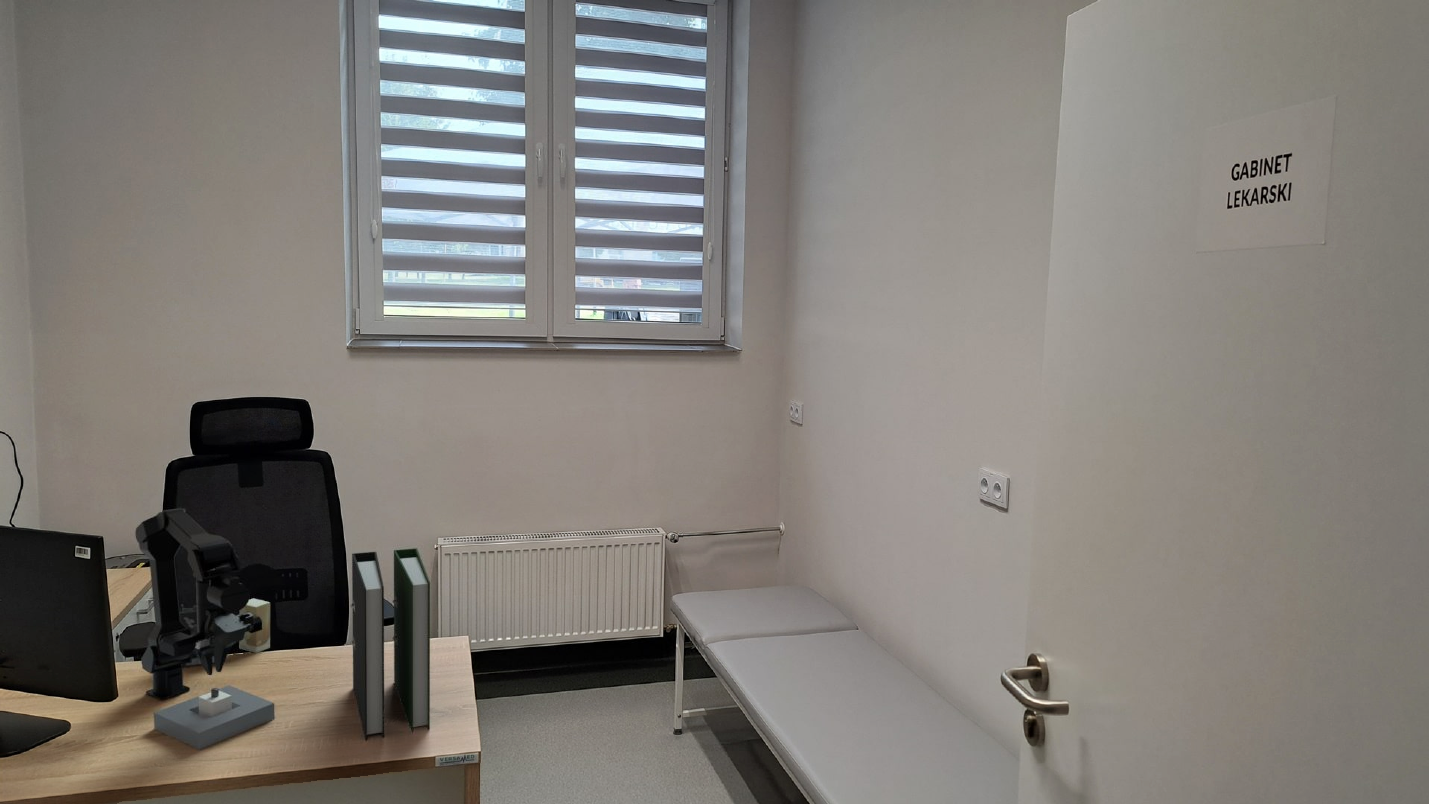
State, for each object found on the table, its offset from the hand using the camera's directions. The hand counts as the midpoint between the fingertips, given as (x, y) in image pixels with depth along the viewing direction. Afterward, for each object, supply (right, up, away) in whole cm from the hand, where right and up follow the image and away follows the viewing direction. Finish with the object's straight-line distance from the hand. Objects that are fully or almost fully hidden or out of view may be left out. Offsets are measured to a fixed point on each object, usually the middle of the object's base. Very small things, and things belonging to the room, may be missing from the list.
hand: (214, 673), depth 183 cm
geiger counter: (-21, -7, +32) cm, 39 cm away
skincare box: (-13, -7, +41) cm, 44 cm away
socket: (0, -11, +1) cm, 11 cm away
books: (+33, -11, +11) cm, 36 cm away
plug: (0, -10, +1) cm, 10 cm away
